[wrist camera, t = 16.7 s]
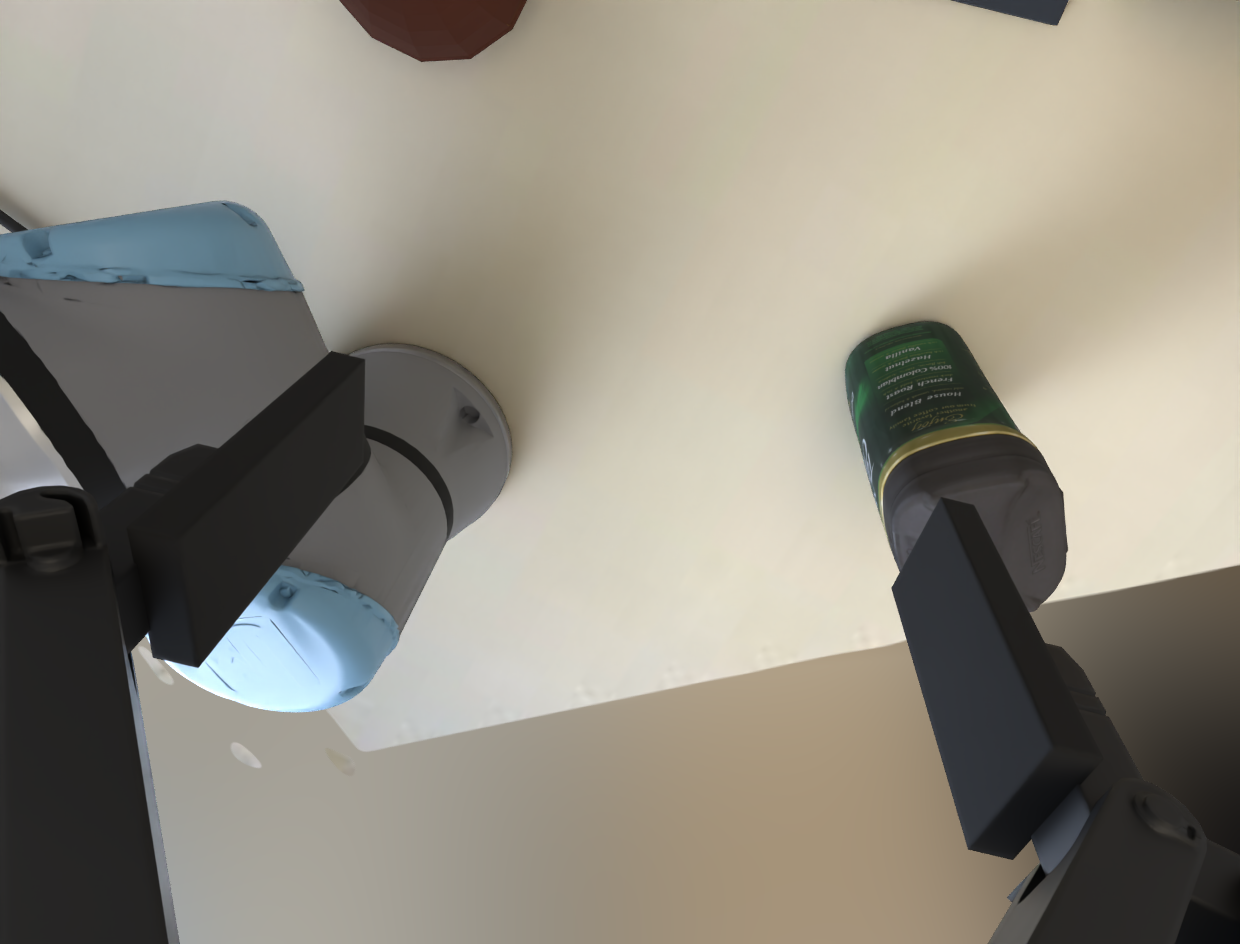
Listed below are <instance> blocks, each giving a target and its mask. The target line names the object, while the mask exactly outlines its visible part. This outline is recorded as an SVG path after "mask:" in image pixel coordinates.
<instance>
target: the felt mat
mask: <svg viewBox="0 0 1240 944" xmlns="http://www.w3.org/2000/svg"><path fill="white" fill-rule="evenodd" d="M952 1H956V2H960V3H964V4H969V5H973V6H977V7H981V8H985V9H989V10H993V11H997V12H1001V13H1005V14H1009V15H1013V16H1017V17H1021V18H1025V19H1029V20H1033V21H1038V22H1042V23H1046V24H1050V25H1058V23H1059V20H1060V18H1061V16H1062V14H1063V12H1064V9H1065V7H1066V5H1067V3H1068V1H1069V0H952Z"/></svg>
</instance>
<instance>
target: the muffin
mask: <svg viewBox="0 0 1240 944" xmlns="http://www.w3.org/2000/svg"><path fill="white" fill-rule="evenodd" d="M339 1H340V2H341V3H342V4H343V5H344V6H345V7H346V9H347V10H348V11H349V12H350V13H351V14H352V15H353V17H354V18H355V19H356V20H357V21H358V22H359V23H360V25H361V26H362V27H363V28H364V29H365V30H366V31H367V33H368V34H369V35H370V36H371V37H372V38H374V39H376V40H378V41H380V42H382V43H384V44H386V45H388V46H390V47H392V48H394V49H396V50H398V51H400V52H402V53H404V54H407V55H409V56H411V57H413V58H415V59H417V60H419V61H421V62H425V61H443V60H461V59H471V58H473V57H474V56H476V55H477V54H478V53H480V52H481V51H483V50H484V49H485V48H487V47H488V46H490V45H491V44H492V43H494V42H495V41H497V40H498V39H499V38H501V37H502V36H504V35H505V34H506V33H508V32H509V31H511V30H512V29H513V27H514V25H515V23H516V21H517V19H518V17H519V15H520V13H521V11H522V9H523V7H524V5H525V3H526V1H527V0H339Z"/></svg>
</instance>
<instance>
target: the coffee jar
mask: <svg viewBox="0 0 1240 944" xmlns="http://www.w3.org/2000/svg"><path fill="white" fill-rule="evenodd" d="M845 381H846V391H847V399H848V404H849V408H850V412H851V416H852V420H853V423H854V427H855V431H856V434H857V437H858V441H859V444H860V448H861V452H862V456H863V460H864V464H865V467H866V471H867V475H868V478H869V482H870V485H871V489H872V492H873V496H874V498H875V501H876V504H877V508H878V511H879V514H880V517H881V520H882V523H883V526H884V529H885V532H886V535H887V539H888V542H889V545H890V548H891V551H892V553H893V556H894V559H895V561H896V563H897V566H898V569H899V571H901V570H902V568H903V566H904V564H905V562H906V560H907V558H908V557H909V555H910V553H911V551H912V549H913V547H914V546H915V544H916V542H917V540H918V538H919V536H920V534H921V533H922V531H923V529H924V527H925V525H926V523H927V521H928V520H929V518H930V516H931V514H932V512H933V510H934V508H935V507H936V505H937V503H938V501H939V499H940V497H943V498H948V499H952V500H956V501H960V502H964V503H968V504H973V505H974V506H975V508H976V509H977V511H978V513H979V515H980V517H981V519H982V521H983V523H984V525H985V527H986V529H987V531H988V533H989V535H990V537H991V539H992V541H993V543H994V545H995V547H996V549H997V551H998V553H999V554H1000V556H1001V558H1002V560H1003V562H1004V564H1005V566H1006V568H1007V570H1008V572H1009V574H1010V576H1011V578H1012V580H1013V582H1014V584H1015V586H1016V588H1017V590H1018V592H1019V594H1020V596H1021V597H1022V599H1023V601H1024V603H1025V605H1026V607H1027V609H1028V611H1029V612H1033V611H1035V610H1037V608H1038V607H1039V606H1040V604H1042V603H1043V602H1044V601H1045V600H1046V599H1047V598H1048V597H1049V596H1050V595H1051V594H1052V593H1053V592H1054V591H1055V589H1056V588H1057V586H1058V584H1059V583H1060V581H1061V579H1062V577H1063V574H1064V571H1065V567H1066V553H1067V551H1068V545H1067V536H1066V524H1065V513H1064V498H1063V492H1062V490H1061V489H1060V488H1059V486H1058V483H1057V481H1056V479H1055V477H1054V476H1053V474H1052V472H1051V471H1050V469H1049V467H1048V465H1047V463H1046V461H1045V459H1044V457H1043V456H1042V454H1041V453H1040V451H1039V450H1038V449H1037V447H1036V446H1035V445H1034V444H1033V443H1032V442H1031V441H1030V440H1029V439H1028V438H1027V437H1026V436H1024V435H1023V434H1022V433H1021V432H1020V430H1019V429H1018V428H1017V426H1016V425H1015V423H1014V422H1013V420H1012V419H1011V417H1010V415H1009V414H1008V412H1007V411H1006V409H1005V408H1004V406H1003V404H1002V403H1001V401H1000V400H999V398H998V396H997V395H996V393H995V392H994V390H993V389H992V387H991V386H990V384H989V382H988V381H987V379H986V377H985V376H984V374H983V372H982V370H981V369H980V367H979V365H978V364H977V362H976V360H975V359H974V357H973V355H972V353H971V352H970V350H969V349H968V347H967V345H966V344H965V342H964V341H963V339H962V338H961V337H960V335H959V334H958V333H957V332H956V331H955V330H954V329H953V328H951V327H949V326H948V325H945V324H942V323H938V322H918V323H912V324H907V325H904V326H899V327H895V328H891V329H889V330H886V331H883V332H880V333H878V334H875V335H873V336H871V337H869V338H867V339H866V340H864V341H863V342H861V343H860V344H859V345H858V346H857V347H856V348H855V349H854V350H853V351H852V353H851V354H850V356H849V358H848V360H847V363H846V368H845Z"/></svg>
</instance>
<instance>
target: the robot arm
mask: <svg viewBox="0 0 1240 944" xmlns="http://www.w3.org/2000/svg"><path fill="white" fill-rule="evenodd" d="M0 224H1V225H2V226H4V227H5V228H7V229H8V230H9V231H11V232H12V233H7V234H0V944H180V942H179V936H178V930H177V924H176V918H175V913H174V906H173V899H172V893H171V887H170V882H169V875H168V869H167V863H166V857H165V851H164V845H163V839H162V833H161V827H160V820H159V814H158V808H157V802H156V796H155V790H154V784H153V778H152V772H151V766H150V759H149V753H148V748H147V742H146V735H145V730H144V723H143V717H142V711H141V705H140V699H139V693H138V686H137V680H136V674H135V668H134V663H133V658H132V653H131V651H132V650H133V649H134V647H135V646H136V645H137V644H138V643H139V642H140V641H141V640H142V639H143V638H144V637H145V636H146V637H147V639H148V641H149V643H150V645H151V650H152V655H153V658H157V659H161V660H164V661H165V662H166V663H167V664H169V665H170V666H171V667H172V668H173V669H174V670H176V671H177V672H178V673H180V674H181V675H182V676H184V677H185V678H187V679H188V680H190V681H192V682H193V683H195V684H197V685H198V686H200V687H202V688H204V689H206V690H208V691H210V692H212V693H214V694H216V695H219V696H221V697H224V698H227V699H231V700H234V701H236V702H238V703H241V704H244V705H248V706H252V707H256V708H260V709H266V710H272V711H281V712H310V711H317V710H323V709H327V708H330V707H334V706H337V705H339V704H342V703H344V702H346V701H348V700H350V699H351V698H353V697H354V696H356V695H357V694H359V693H360V692H361V691H362V690H363V689H364V688H365V687H366V686H367V685H368V684H369V683H370V681H371V680H372V679H373V677H374V675H375V674H376V672H377V670H378V669H379V667H380V666H381V664H382V662H383V661H384V659H385V657H386V656H388V655H389V654H390V653H391V652H392V650H393V649H394V648H395V647H396V645H397V643H398V641H399V637H400V634H401V632H402V630H403V628H404V626H405V624H406V622H407V620H408V618H409V616H410V614H411V612H412V610H413V608H414V606H415V604H416V602H417V600H418V598H419V596H420V594H421V592H422V590H423V588H424V586H425V584H426V582H427V580H428V578H429V576H430V574H431V572H432V570H433V568H434V566H435V564H436V562H437V560H438V558H439V556H440V554H441V552H442V550H443V548H444V546H445V544H446V542H447V541H448V540H449V539H451V538H453V537H454V536H455V535H457V534H458V533H459V532H460V531H462V530H463V529H464V528H466V527H467V526H468V525H470V524H471V523H473V522H474V521H476V520H477V519H478V518H480V517H481V516H482V515H483V514H484V513H485V512H486V511H487V510H488V509H489V507H490V506H491V505H492V504H493V502H494V501H495V500H496V498H497V497H498V495H499V494H500V492H501V490H502V488H503V485H504V483H505V481H506V479H507V477H508V474H509V471H510V466H511V461H512V442H511V436H510V431H509V427H508V425H507V422H506V419H505V417H504V415H503V412H502V410H501V409H500V407H499V405H498V403H497V402H496V400H495V399H494V397H493V396H492V395H491V393H490V392H489V391H488V390H487V388H486V387H485V386H484V385H483V384H482V383H481V382H480V381H479V380H478V379H477V378H476V377H475V376H474V375H472V374H471V373H470V372H469V371H468V370H466V369H465V368H463V367H462V366H461V365H459V364H458V363H456V362H454V361H453V360H451V359H449V358H447V357H445V356H443V355H441V354H439V353H436V352H433V351H431V350H428V349H424V348H421V347H417V346H412V345H404V344H380V345H374V346H369V347H366V348H363V349H360V350H357V351H355V352H353V353H351V354H349V355H345V354H341V353H337V352H333V351H331V352H330V353H329V352H328V350H327V348H326V346H325V343H324V341H323V339H322V336H321V334H320V332H319V330H318V327H317V325H316V323H315V320H314V318H313V316H312V314H311V311H310V309H309V307H308V304H307V302H306V300H305V298H304V295H303V293H302V291H304V287H303V285H302V284H301V282H300V281H298V280H296V279H295V278H294V276H293V274H292V272H291V270H290V269H289V267H288V265H287V263H286V261H285V259H284V257H283V255H282V253H281V251H280V249H279V247H278V245H277V243H276V241H275V239H274V237H273V235H272V233H271V231H270V230H269V228H268V226H267V225H266V223H265V222H264V221H263V219H262V218H260V217H259V216H258V215H257V214H256V213H255V212H253V211H252V210H251V209H249V208H247V207H245V206H243V205H240V204H238V203H235V202H229V201H212V202H205V203H199V204H192V205H185V206H179V207H172V208H166V209H159V210H153V211H146V212H140V213H134V214H127V215H121V216H115V217H108V218H102V219H95V220H88V221H82V222H76V223H69V224H63V225H56V226H50V227H44V228H37V229H31V230H28V229H26V228H25V227H23V226H22V225H21V224H19V223H18V222H16V221H15V220H14V219H12V218H11V217H10V216H8V215H7V214H5V213H4V212H3V211H1V210H0ZM892 591H893V595H894V598H895V602H896V605H897V608H898V612H899V615H900V619H901V622H902V625H903V629H904V632H905V636H906V639H907V643H908V646H909V649H910V653H911V656H912V660H913V663H914V666H915V670H916V673H917V677H918V680H919V683H920V687H921V690H922V694H923V697H924V700H925V704H926V707H927V711H928V714H929V718H930V721H931V724H932V728H933V731H934V735H935V737H936V741H937V745H938V748H939V752H940V755H941V758H942V762H943V765H944V768H945V772H946V775H947V779H948V782H949V786H950V789H951V792H952V796H953V799H954V803H955V806H956V809H957V813H958V816H959V820H960V823H961V826H962V830H963V833H964V836H965V840H966V844H967V847H968V850H973V851H977V852H981V853H986V854H990V855H994V856H998V857H1003V858H1007V859H1011V860H1013V859H1014V858H1015V857H1016V856H1017V855H1018V854H1019V852H1020V851H1021V850H1022V849H1023V848H1024V847H1025V846H1026V845H1027V843H1028V842H1029V841H1030V840H1031V839H1032V842H1033V844H1034V847H1035V850H1036V852H1037V855H1038V857H1039V860H1040V863H1039V864H1038V865H1037V866H1036V867H1035V868H1034V869H1033V870H1032V872H1030V874H1029V875H1028V876H1027V877H1026V878H1025V879H1024V880H1023V881H1022V882H1021V883H1020V884H1019V885H1018V886H1017V887H1016V888H1015V889H1014V891H1013V892H1012V893H1011V894H1010V895H1009V896H1008V897H1007V898H1008V899H1009V900H1010V901H1011V902H1012V904H1011V905H1010V907H1009V909H1008V910H1007V912H1006V914H1005V916H1004V917H1003V919H1002V921H1001V922H1000V924H999V926H998V928H997V929H996V931H995V932H994V934H993V936H992V937H991V939H990V941H989V943H988V944H1240V855H1239V854H1236V853H1234V852H1232V851H1230V850H1228V849H1226V848H1224V847H1222V846H1220V845H1218V844H1216V843H1214V842H1212V841H1210V840H1208V839H1207V838H1206V837H1205V834H1204V832H1203V830H1202V828H1201V826H1200V824H1199V822H1198V821H1197V820H1196V819H1195V818H1194V816H1193V815H1192V814H1191V813H1190V812H1189V810H1188V809H1187V808H1186V807H1185V806H1184V805H1183V804H1181V803H1180V802H1179V801H1178V800H1177V799H1176V798H1174V797H1173V796H1172V795H1171V794H1169V793H1168V792H1166V791H1165V790H1163V789H1161V788H1159V787H1158V786H1156V785H1154V784H1152V783H1150V782H1147V781H1144V780H1143V778H1142V776H1141V774H1140V772H1139V771H1138V769H1137V767H1136V765H1135V763H1134V762H1133V760H1132V758H1131V756H1130V754H1129V752H1128V751H1127V749H1126V747H1125V745H1124V743H1123V742H1122V740H1121V738H1120V736H1119V734H1118V732H1117V731H1116V729H1115V727H1114V725H1113V723H1112V721H1111V720H1110V718H1109V717H1108V716H1106V715H1105V714H1106V711H1105V709H1104V707H1103V705H1102V703H1101V701H1100V700H1099V698H1098V697H1095V694H1096V693H1095V691H1094V689H1093V687H1092V685H1091V683H1090V681H1089V680H1088V678H1087V676H1086V674H1085V672H1084V670H1083V669H1082V668H1081V667H1080V666H1079V665H1078V664H1077V663H1076V662H1075V661H1074V660H1073V659H1072V658H1071V657H1070V655H1069V654H1068V653H1067V652H1066V651H1065V650H1064V649H1063V648H1062V647H1059V646H1055V645H1051V644H1046V643H1045V642H1044V641H1043V639H1042V637H1041V635H1040V633H1039V631H1038V629H1037V627H1036V625H1035V623H1034V621H1033V619H1032V617H1031V615H1030V613H1029V611H1028V609H1027V607H1026V605H1025V603H1024V601H1023V599H1022V597H1021V596H1020V594H1019V592H1018V590H1017V588H1016V586H1015V584H1014V582H1013V580H1012V578H1011V576H1010V574H1009V572H1008V570H1007V568H1006V566H1005V564H1004V562H1003V560H1002V558H1001V556H1000V554H999V553H998V551H997V549H996V547H995V545H994V543H993V541H992V539H991V537H990V535H989V533H988V531H987V529H986V527H985V525H984V523H983V521H982V519H981V517H980V515H979V513H978V511H977V509H976V508H975V506H974V505H973V504H968V503H964V502H960V501H956V500H952V499H948V498H943V497H940V499H939V501H938V503H937V505H936V507H935V508H934V510H933V512H932V514H931V516H930V518H929V520H928V521H927V523H926V525H925V527H924V529H923V531H922V533H921V534H920V536H919V538H918V540H917V542H916V544H915V546H914V547H913V549H912V551H911V553H910V555H909V557H908V558H907V560H906V562H905V564H904V566H903V568H902V570H901V571H900V573H899V575H898V577H897V579H896V581H895V583H894V584H893V586H892Z"/></svg>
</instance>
